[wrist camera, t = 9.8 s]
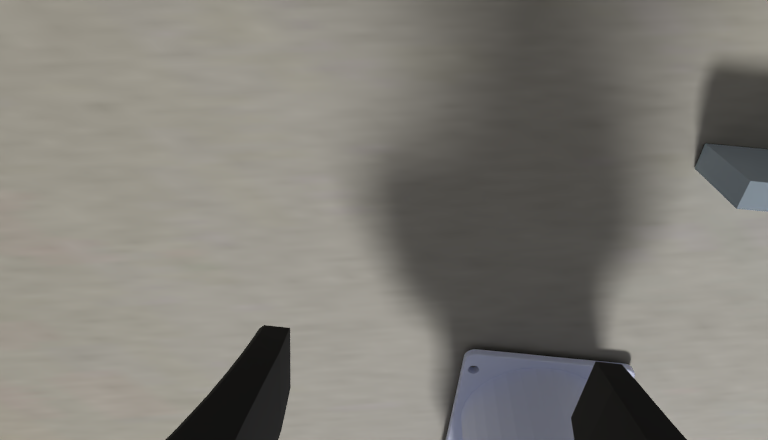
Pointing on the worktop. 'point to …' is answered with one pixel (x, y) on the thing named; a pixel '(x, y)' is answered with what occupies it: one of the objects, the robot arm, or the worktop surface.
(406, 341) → the worktop surface
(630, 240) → the worktop surface
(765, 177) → the low wall
